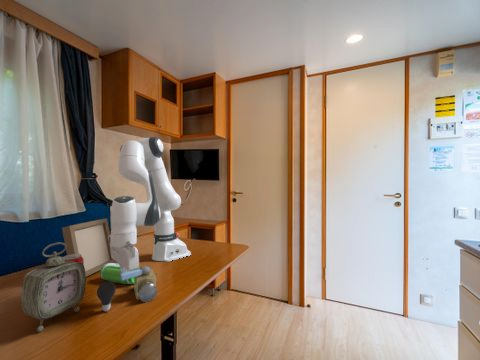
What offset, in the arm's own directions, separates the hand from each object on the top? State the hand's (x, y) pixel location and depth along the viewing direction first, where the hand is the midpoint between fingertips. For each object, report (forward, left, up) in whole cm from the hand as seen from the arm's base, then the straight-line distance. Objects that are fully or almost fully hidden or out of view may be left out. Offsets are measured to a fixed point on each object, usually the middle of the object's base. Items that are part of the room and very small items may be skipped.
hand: (124, 275), depth 85 cm
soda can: (+17, -16, -9) cm, 26 cm away
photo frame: (+13, -40, -9) cm, 44 cm away
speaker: (0, -18, -10) cm, 20 cm away
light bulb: (+6, +5, -9) cm, 12 cm away
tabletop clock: (+20, +2, -9) cm, 23 cm away
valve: (-8, 0, -9) cm, 12 cm away
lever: (-4, +1, -1) cm, 4 cm away
